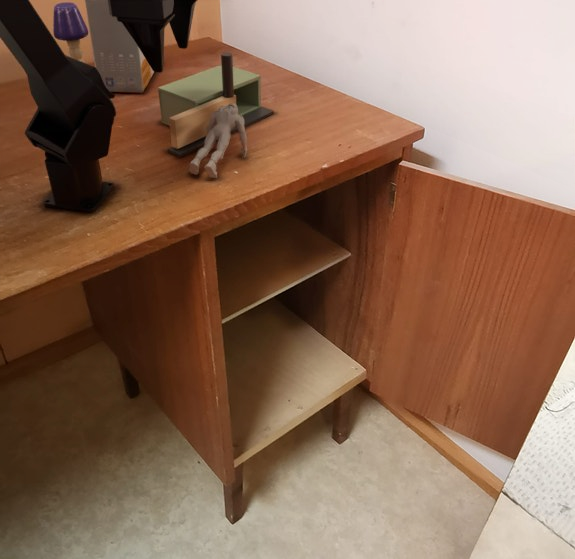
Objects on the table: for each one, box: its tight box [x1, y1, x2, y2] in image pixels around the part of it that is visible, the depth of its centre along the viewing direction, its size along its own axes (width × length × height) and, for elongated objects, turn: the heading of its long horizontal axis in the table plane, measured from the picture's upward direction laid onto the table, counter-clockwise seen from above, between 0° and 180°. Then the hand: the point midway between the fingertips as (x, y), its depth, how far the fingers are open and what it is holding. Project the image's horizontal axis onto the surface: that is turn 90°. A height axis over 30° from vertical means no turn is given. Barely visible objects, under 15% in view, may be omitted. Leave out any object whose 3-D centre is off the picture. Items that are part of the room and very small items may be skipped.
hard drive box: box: [84, 0, 155, 94], centre depth 101 cm, size 16×8×20 cm, turn 179°
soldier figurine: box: [188, 103, 248, 179], centre depth 82 cm, size 6×5×12 cm
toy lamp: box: [52, 2, 89, 63], centre depth 87 cm, size 5×5×17 cm
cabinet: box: [157, 64, 275, 158], centre depth 91 cm, size 20×10×6 cm, turn 141°
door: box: [169, 51, 236, 149], centre depth 85 cm, size 12×2×10 cm, turn 141°
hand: (171, 59), depth 77 cm, fingers open, 9 cm apart
